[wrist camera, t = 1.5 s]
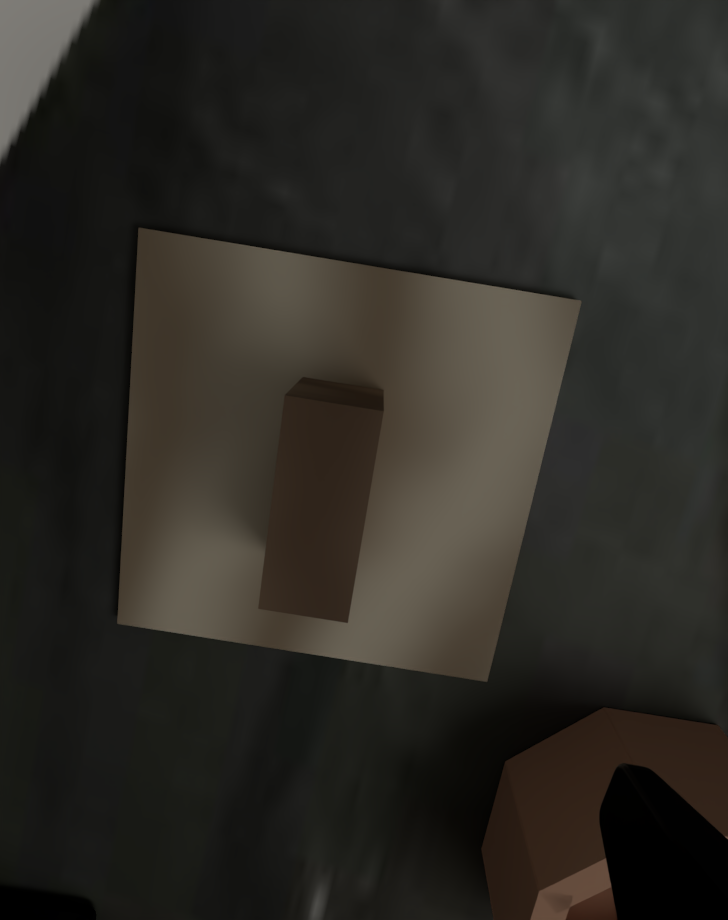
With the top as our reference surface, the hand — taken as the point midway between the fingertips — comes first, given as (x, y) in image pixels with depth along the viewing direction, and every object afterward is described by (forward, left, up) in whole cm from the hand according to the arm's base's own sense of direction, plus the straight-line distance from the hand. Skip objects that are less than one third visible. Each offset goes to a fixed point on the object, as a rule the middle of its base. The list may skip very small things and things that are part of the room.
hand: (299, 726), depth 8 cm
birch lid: (-1, 0, -12) cm, 12 cm away
